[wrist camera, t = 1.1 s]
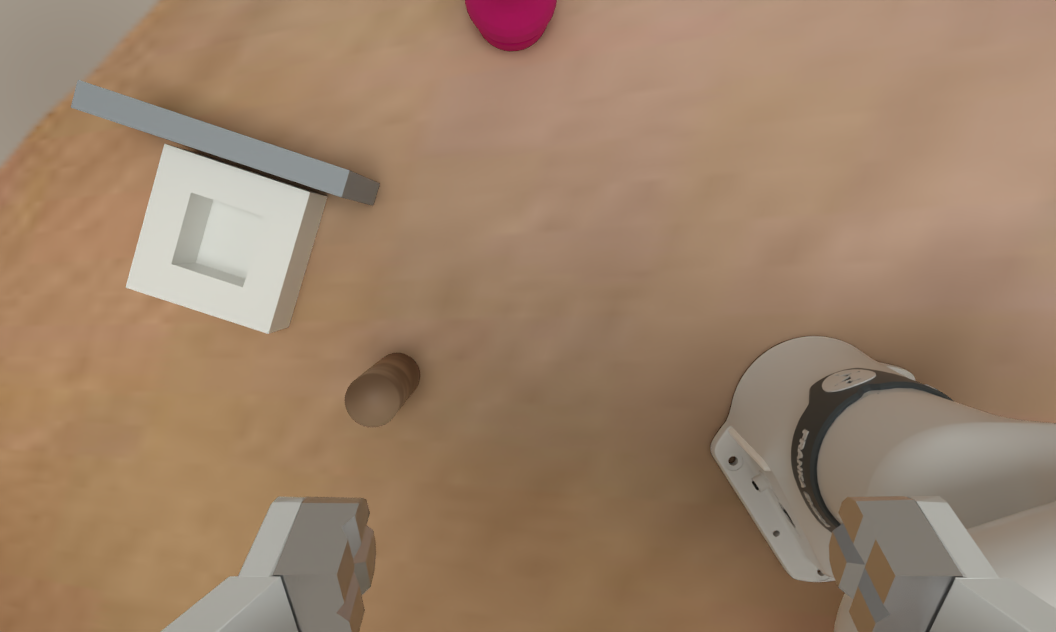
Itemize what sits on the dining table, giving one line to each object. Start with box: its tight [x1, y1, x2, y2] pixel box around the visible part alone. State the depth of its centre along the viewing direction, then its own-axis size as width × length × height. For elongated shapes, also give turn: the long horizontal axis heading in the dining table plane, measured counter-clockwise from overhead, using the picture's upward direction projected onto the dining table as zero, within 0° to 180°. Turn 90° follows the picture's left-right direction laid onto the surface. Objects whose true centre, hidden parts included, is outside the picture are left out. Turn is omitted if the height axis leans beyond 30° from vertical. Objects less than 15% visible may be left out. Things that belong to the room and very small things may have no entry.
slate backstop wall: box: [71, 80, 380, 205], centre depth 53 cm, size 2×20×10 cm, turn 72°
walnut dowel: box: [345, 353, 420, 427], centre depth 55 cm, size 4×4×10 cm
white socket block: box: [126, 144, 327, 334], centre depth 56 cm, size 12×12×5 cm
